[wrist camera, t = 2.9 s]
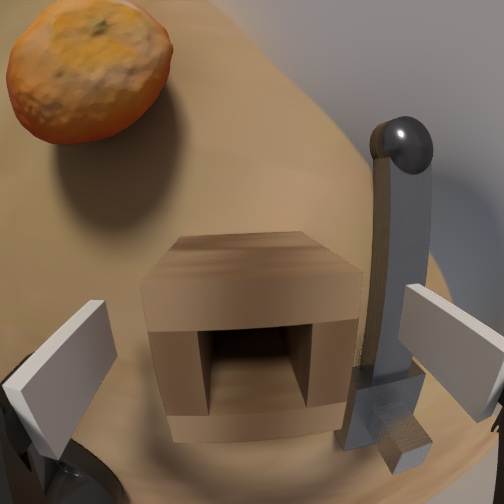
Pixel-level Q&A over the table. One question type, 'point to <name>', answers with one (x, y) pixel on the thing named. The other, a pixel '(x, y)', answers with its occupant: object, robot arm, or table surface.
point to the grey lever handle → (393, 299)
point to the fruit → (87, 70)
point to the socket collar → (252, 336)
